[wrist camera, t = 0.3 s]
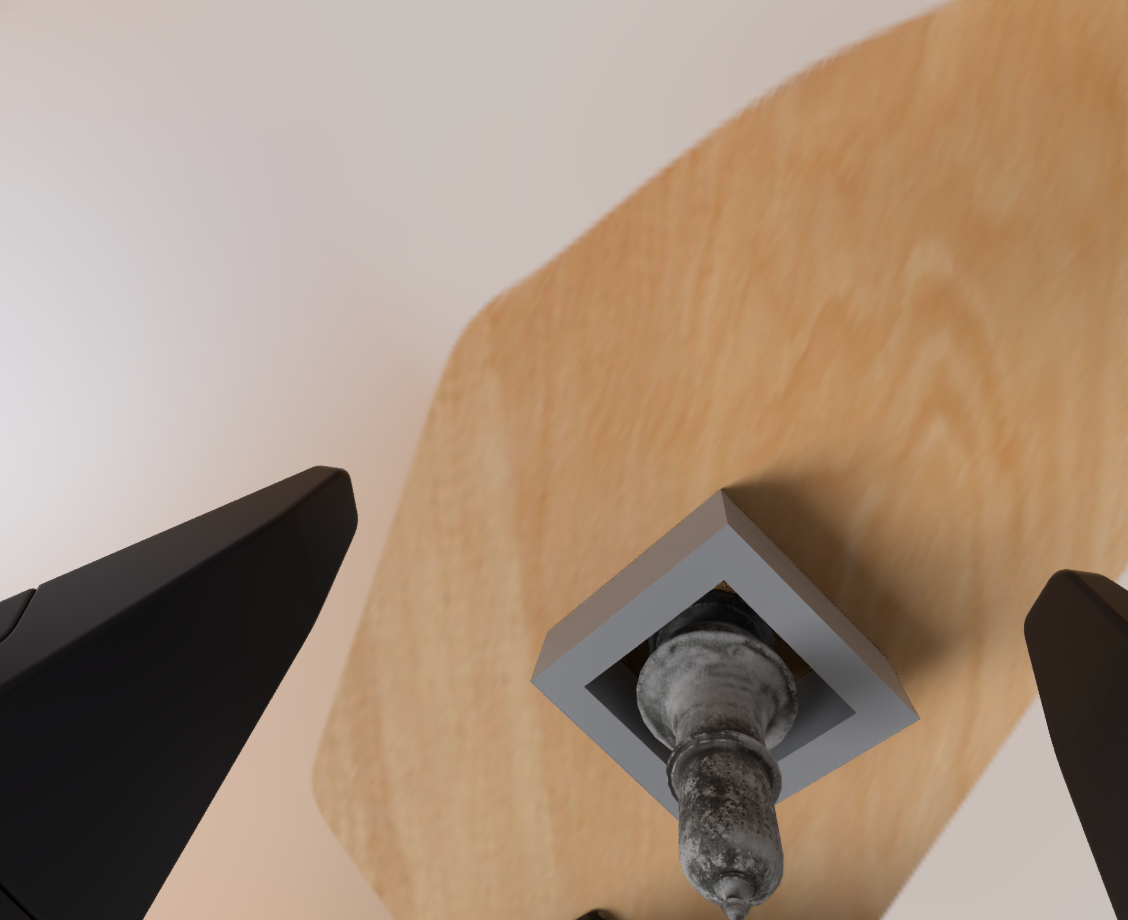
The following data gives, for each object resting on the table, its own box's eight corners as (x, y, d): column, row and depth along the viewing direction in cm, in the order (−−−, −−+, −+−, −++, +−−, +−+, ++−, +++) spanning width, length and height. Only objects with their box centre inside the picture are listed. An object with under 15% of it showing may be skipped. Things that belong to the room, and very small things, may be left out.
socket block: (702, 779, 29) (705, 845, 25) (547, 632, 28) (530, 681, 25) (888, 660, 26) (920, 719, 22) (720, 489, 25) (727, 523, 21)
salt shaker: (772, 574, 25) (850, 824, 14) (791, 697, 27) (876, 1013, 15) (628, 592, 27) (595, 834, 15) (654, 708, 28) (641, 1007, 17)
